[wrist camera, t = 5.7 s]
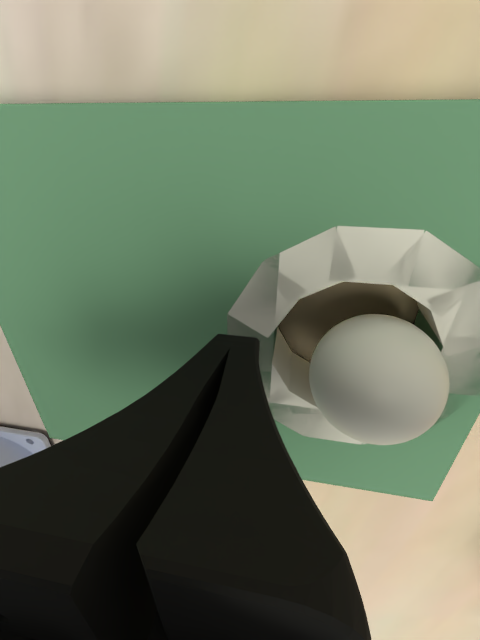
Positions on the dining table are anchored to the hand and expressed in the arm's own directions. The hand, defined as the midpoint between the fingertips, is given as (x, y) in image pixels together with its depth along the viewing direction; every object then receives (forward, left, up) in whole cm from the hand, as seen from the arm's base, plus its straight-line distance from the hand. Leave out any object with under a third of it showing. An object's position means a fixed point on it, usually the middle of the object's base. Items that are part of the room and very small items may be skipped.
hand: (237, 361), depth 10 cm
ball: (+4, 0, 0) cm, 4 cm away
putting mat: (-1, 0, -3) cm, 4 cm away
